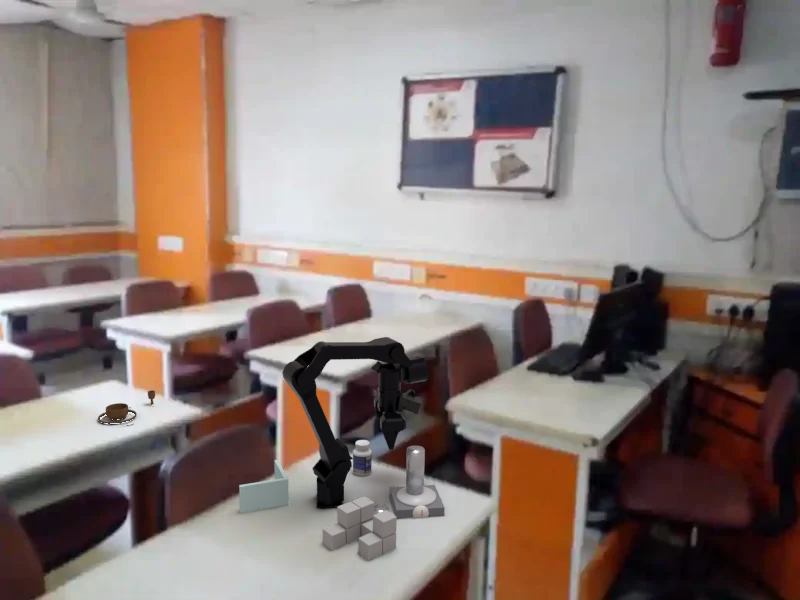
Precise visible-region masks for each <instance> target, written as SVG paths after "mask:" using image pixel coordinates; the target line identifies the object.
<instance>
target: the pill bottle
mask: <svg viewBox="0 0 800 600" xmlns="http://www.w3.org/2000/svg"><path fill="white" fill-rule="evenodd" d="M370 443H371V442H370V441H369V440H367V439H359V440H356V441H355V446H354V447H355V449H353V451H352V458H353V459H352V472H353V474H354V475H356V476H360V477H365V475H366V476H368V475H370V474H371V473H372V464H373V463H372V457H373V455H372V454H373V452H372V450H371V448H370V446H371V444H370Z"/></svg>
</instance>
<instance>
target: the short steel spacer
mask: <svg viewBox="0 0 800 600" xmlns="http://www.w3.org/2000/svg"><path fill="white" fill-rule="evenodd" d="M385 510H387V511H388V512H390V506H388V505H387V504H383V503H382V504H381V503H380V504H379V503H378V504H374V515H375V514H377V513H380V512H382V511H385Z"/></svg>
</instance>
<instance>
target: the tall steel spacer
mask: <svg viewBox="0 0 800 600" xmlns="http://www.w3.org/2000/svg"><path fill="white" fill-rule="evenodd" d="M425 452H426V450H425V448H424V447H423V446H421V445H410V446H408V447H407V448H406V464H405V465H406V469H405V470H406V471H405V474H406V475H405V486H406V493H408V494H410V495H421V494H423V492H424V485H425V459H426V457H425V455H426V453H425Z"/></svg>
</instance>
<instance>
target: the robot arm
mask: <svg viewBox="0 0 800 600" xmlns="http://www.w3.org/2000/svg"><path fill="white" fill-rule="evenodd" d="M405 351H406V350H405V347H404V345H403V344H402V343H401V342H399V341H397V340H396V339H393V338H390V337H387V336H384V337H379V338H374V339H372V340H370V341H364V342H363V341H356V342H355V341H352V342H351V341H347V342H344V341H341V342H339V341H335V342H334V341H326V342H325V341H323V340H322V341H317V342H316V343H315V344H314V345H313V346H311V348H309V349H307V350H306V351H303V353H301V354H299V355H298V356H297V357H296V358H294V360H291V361H290V362H288V363H287V364H286V365H285V366H284V368H283V370H282V372H281V373H282V378H283V379H284V381H285V382H286V384H287V385H288V386H289V388H290V389H291V391H292V392H293V393H294V394H295V395H296V397H297V398H298V400H299V401H300V404H301V406H302V408H303V411H304V413H305V415H306V417H307V419H308V422H309V425H310V426H311V429H312V431H313V433H314V436H315V438H316V439H317V443H318V445H319V446H318V453H319V456H320V458H319V459H318V461H317V462H316V463H315V464H314V465H313V466H312V472H313V474H314V475H315V476H316V495H315V503H316V508H317V509H329V508H337V507H338V506H340V505H343V504H344V503H343V502H344V501H345V483H346V480H347V476H348V474H349V472H350V471H351V469H352V468H353V461H352V460H353V456H351V454H350V452H349V448H348V446H347V444H345V443H344V442H343V441H342V440H341V439H340V438H339V437H335V435H334V432H333V430H332V428H331V426H330V423H329V421H328V418H327V415H326V414H325V412H324V410H323V407H322V405H321V402H320V401H319V398H318V396H317V382H316V379H317V378H319V376H320V375H321V374H322V372H323V370H324V369H325V368H326V366H327V364H328V363H329V362H330V361H331V360H334V361H335V360H339V361H340V360H374V361H376V363H374V364H373V365H372V366H371V368H370V369H371V370H372V371H373V372H375V373H377V374H378V387H377V393H378V394H377V395H376V396H375V397H374V398H373V406H374V411H375V413H376V416H377V418H378V421H379V424H380V425H379V427H380V430H381V432H382V435H383V437H384V440H385V442H386V445H387V447H388V450H390V451H391V450H392V451H393V450H394V448H395V446H396V445H395V444H396V441H397V439H398V435H399V434H400V432H403V431H404V430H405V429H407V420H406V418H405V416H404V415H403V414H402V412H404V411H408V412H411V413H413V414H415V415H419V413H420V411H421V408H422V406H423V401H422V399H421V398H420V397H419V396H417V395H416V392H415V390H413V389H411V388H410V389H408V390H407V391H406V392H403V391H402V388H401V381H402V382H403V383H404V384H406V385H408V384H415V383H420V382H426V381H427V380H428V378H429V376H430V372H429V368H428V365H427V363H426V361H425V358H426V357H424V356H422V355H416V356H414V357H408V355H407V354H406V352H405ZM397 412H398V413H397Z"/></svg>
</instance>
